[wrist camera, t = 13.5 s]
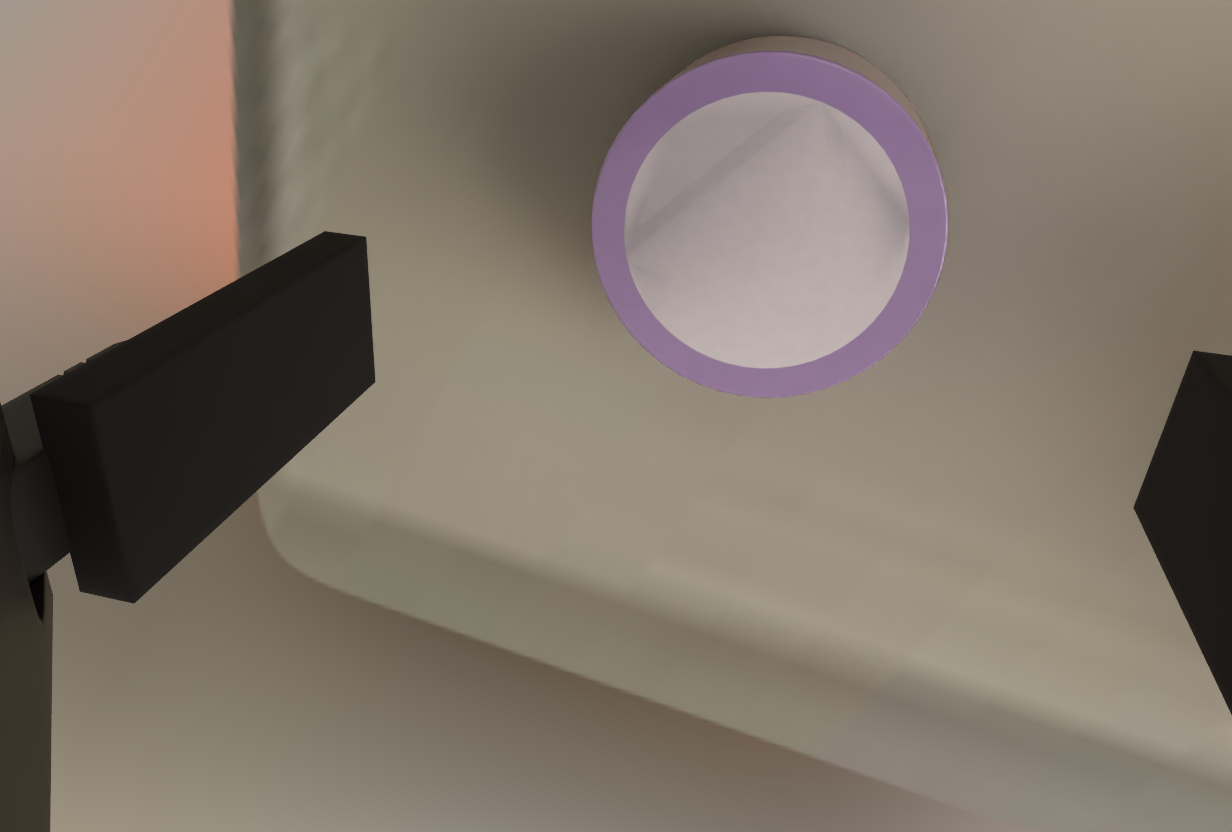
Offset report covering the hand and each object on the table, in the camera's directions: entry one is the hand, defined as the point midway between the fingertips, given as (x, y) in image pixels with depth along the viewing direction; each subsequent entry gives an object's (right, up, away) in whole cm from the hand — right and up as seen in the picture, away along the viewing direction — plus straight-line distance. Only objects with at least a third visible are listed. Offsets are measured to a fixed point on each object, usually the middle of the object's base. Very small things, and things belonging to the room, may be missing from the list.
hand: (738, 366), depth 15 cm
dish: (+2, +5, +9) cm, 11 cm away
